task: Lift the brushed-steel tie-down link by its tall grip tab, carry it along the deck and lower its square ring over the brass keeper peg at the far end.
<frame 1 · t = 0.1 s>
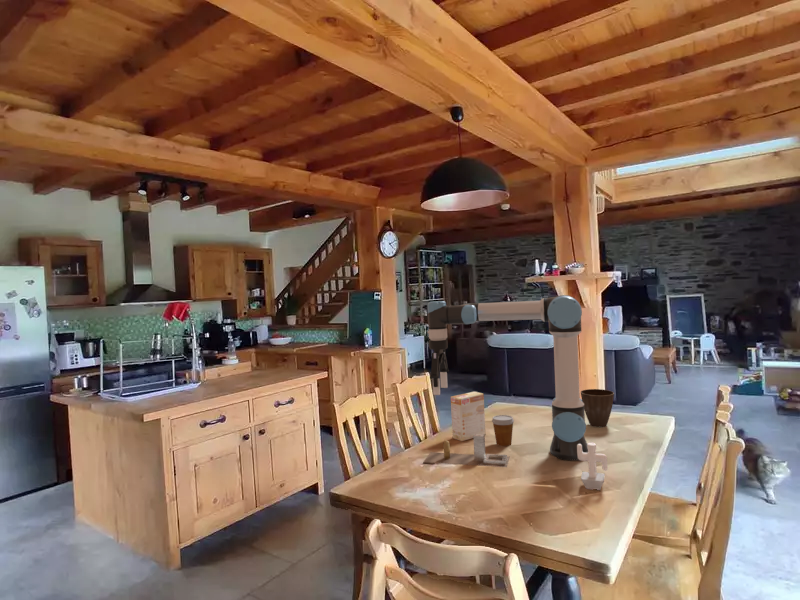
hand: (440, 391, 204), 28 cm above the table, tool pointing down, fingers open, 13 cm apart
figurine: (593, 487, 170), on the table
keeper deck: (466, 460, 201), on the table
coffeecake box: (469, 436, 233), on the table
plant pot: (598, 425, 241), on the table
disposable coffee cup: (503, 445, 219), on the table
tie down link: (495, 460, 198), point 1 cm above the table, touching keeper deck
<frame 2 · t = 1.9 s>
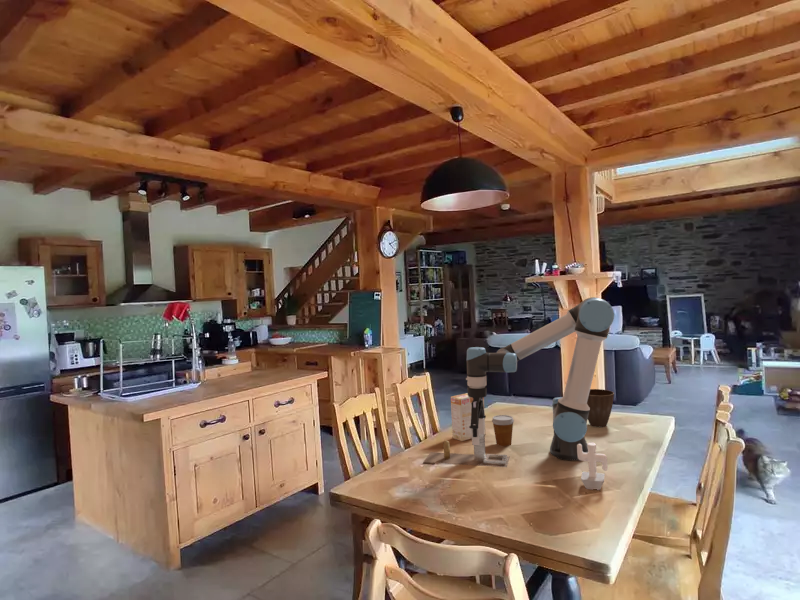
hand: (478, 439, 200), 9 cm above the table, tool pointing down, fingers open, 13 cm apart
nothing on the table moved.
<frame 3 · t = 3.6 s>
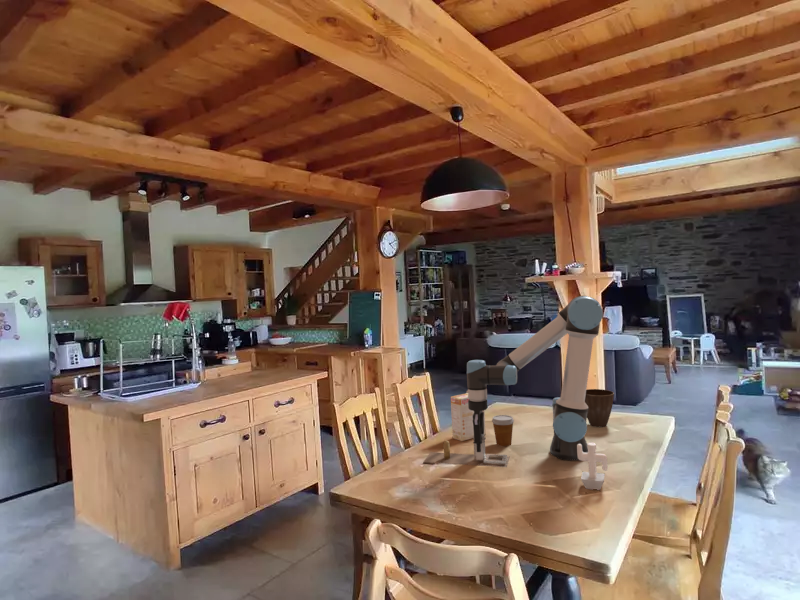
hand: (480, 457, 200), 2 cm above the table, tool pointing down, fingers closed on tie down link, 3 cm apart
tie down link: (495, 460, 198), point 1 cm above the table, touching gripper, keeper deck
everything else where it was.
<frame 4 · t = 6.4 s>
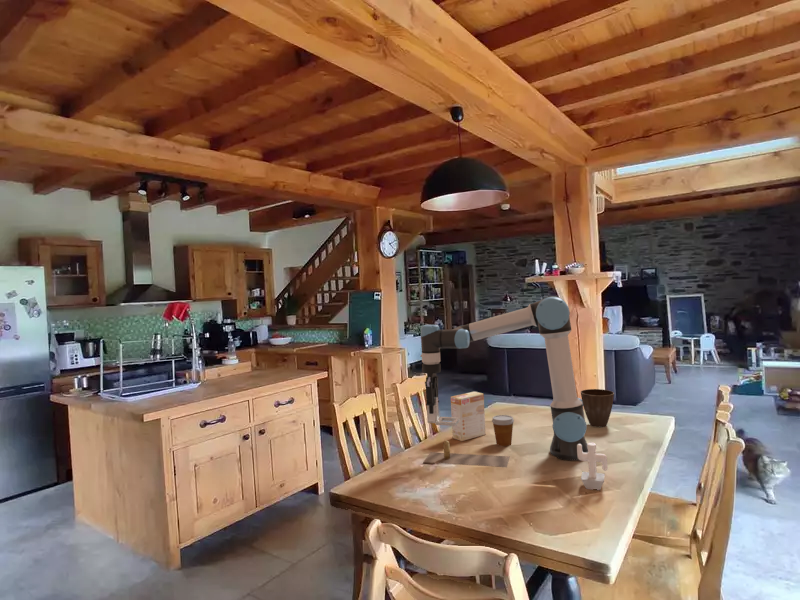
hand: (433, 419, 205), 16 cm above the table, tool pointing down, fingers closed on tie down link, 3 cm apart
tie down link: (447, 422, 203), point 15 cm above the table, touching gripper
everything else where it was.
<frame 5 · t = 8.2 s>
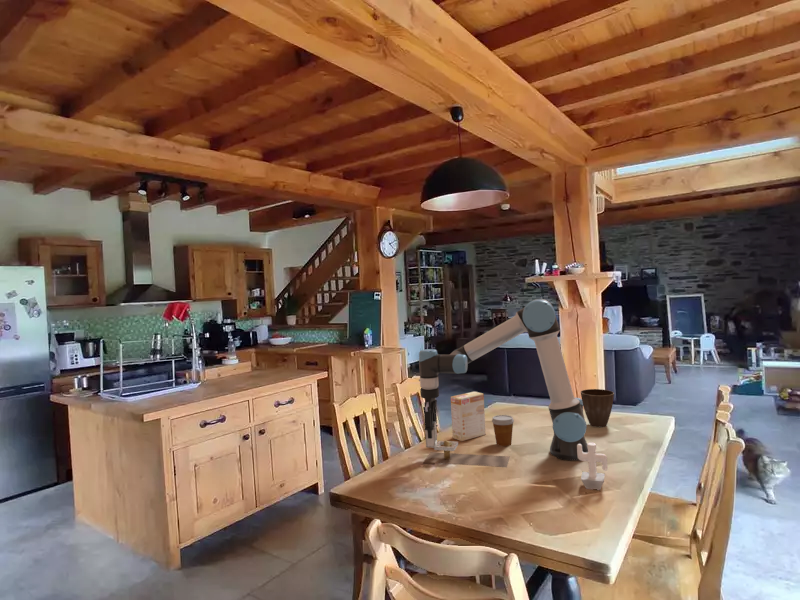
hand: (431, 444, 206), 6 cm above the table, tool pointing down, fingers closed on tie down link, 3 cm apart
tie down link: (446, 447, 204), point 5 cm above the table, touching gripper
everything else where it was.
when the fingers open (3 cm above the table, at t = 9.4 s): tie down link drops 1 cm, resting on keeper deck.
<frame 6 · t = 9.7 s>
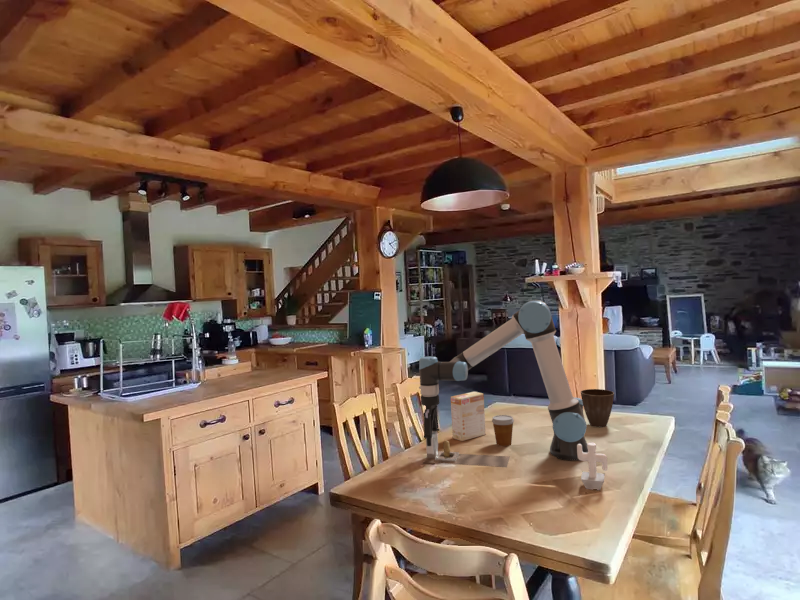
hand: (432, 450, 206), 4 cm above the table, tool pointing down, fingers open, 7 cm apart
tie down link: (447, 458, 204), point 1 cm above the table, touching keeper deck
everything else where it was.
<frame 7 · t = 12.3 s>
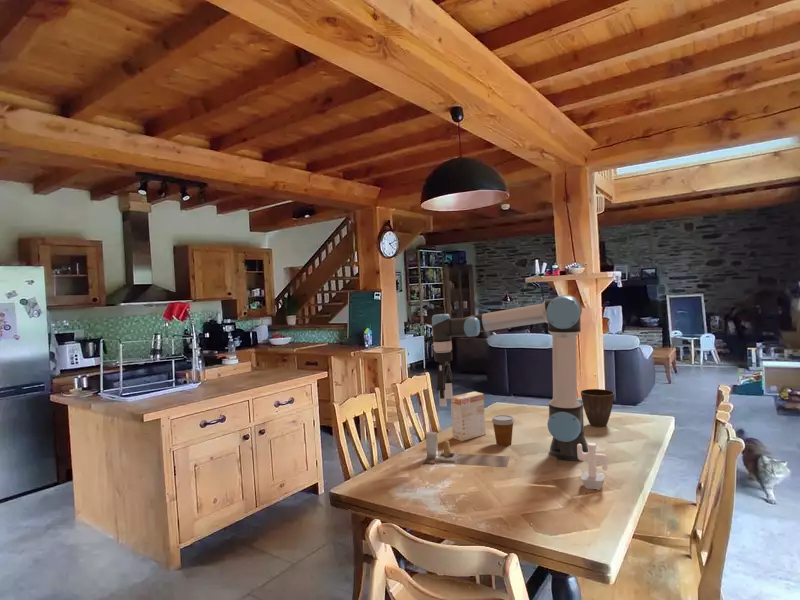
hand: (446, 402, 208), 22 cm above the table, tool pointing down, fingers open, 13 cm apart
nothing on the table moved.
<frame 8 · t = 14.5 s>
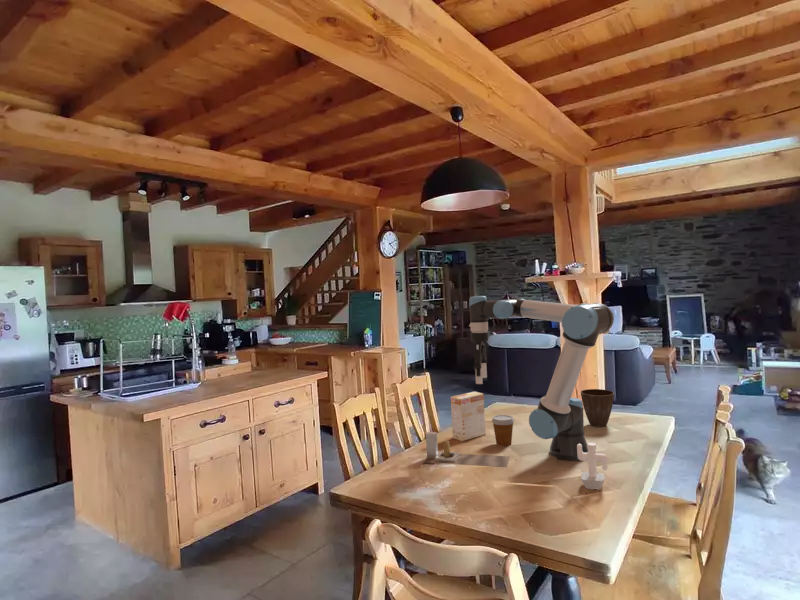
hand: (481, 380, 217), 29 cm above the table, tool pointing down, fingers open, 13 cm apart
nothing on the table moved.
at the end: tie down link 0.0 cm from the target spot on the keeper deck, point 0.6 cm above the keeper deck's base; the gripper is holding nothing; tie down link tilted 0° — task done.
